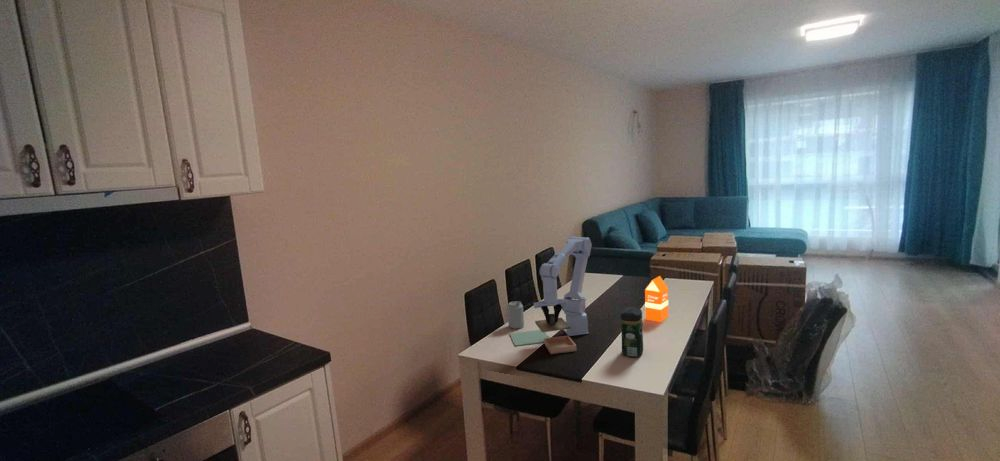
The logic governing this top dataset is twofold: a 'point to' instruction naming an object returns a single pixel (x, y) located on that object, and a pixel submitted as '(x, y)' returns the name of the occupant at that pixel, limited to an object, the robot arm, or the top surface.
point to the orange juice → (656, 300)
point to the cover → (552, 324)
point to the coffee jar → (632, 332)
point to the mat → (528, 337)
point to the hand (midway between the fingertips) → (551, 322)
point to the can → (515, 315)
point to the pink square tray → (560, 344)
